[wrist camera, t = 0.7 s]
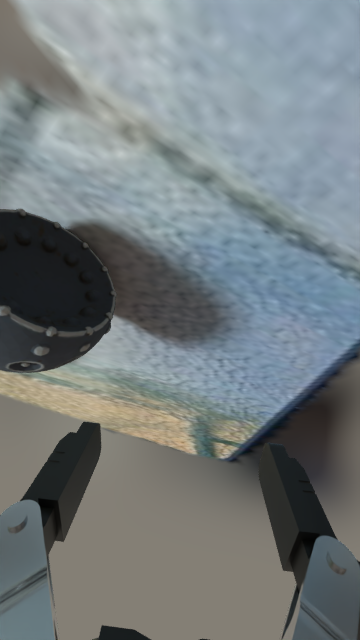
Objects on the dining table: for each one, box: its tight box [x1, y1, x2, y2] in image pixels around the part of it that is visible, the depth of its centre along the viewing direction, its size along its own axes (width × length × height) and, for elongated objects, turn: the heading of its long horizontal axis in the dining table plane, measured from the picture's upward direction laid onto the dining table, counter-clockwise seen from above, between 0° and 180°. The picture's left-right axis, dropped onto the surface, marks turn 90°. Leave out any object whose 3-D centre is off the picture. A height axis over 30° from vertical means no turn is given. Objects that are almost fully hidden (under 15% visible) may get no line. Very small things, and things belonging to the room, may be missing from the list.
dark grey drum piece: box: [0, 209, 117, 373], centre depth 31 cm, size 11×20×20 cm, turn 42°
